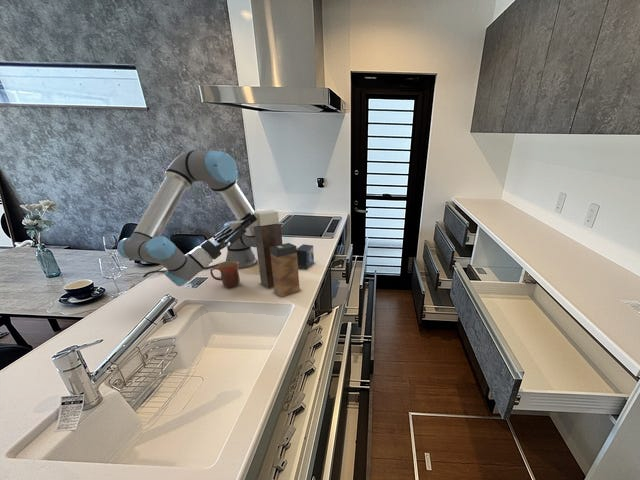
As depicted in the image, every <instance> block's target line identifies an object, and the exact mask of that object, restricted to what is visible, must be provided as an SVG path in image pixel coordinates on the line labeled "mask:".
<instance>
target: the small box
mask: <svg viewBox="0 0 640 480" xmlns="http://www.w3.org/2000/svg"><path fill="white" fill-rule="evenodd" d="M296 248H297V261H298V270H308V269H309V268H311V266H313V265H314V264H315V253H314V252H315V251H314V245H312V244H304V243H303V244H302V245H299V247H296Z"/></svg>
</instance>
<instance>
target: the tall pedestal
mask: <svg viewBox="0 0 640 480" xmlns="http://www.w3.org/2000/svg"><path fill="white" fill-rule="evenodd" d="M254 232H255V240H256V247H255V249H256V254H257V255H256V256H257V262H258V270H259V277H260V278H259V279H260V284H261V285H262V286H264V287H266V288H267V289H271V288H274V282H273V273H272V264H271V255H270V247H271V246H276V245H281V244H283V235H282V234H283V233H282V225H281V224H280V223H277V224H271V225H265V226H254Z"/></svg>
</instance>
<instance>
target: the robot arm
mask: <svg viewBox="0 0 640 480" xmlns="http://www.w3.org/2000/svg"><path fill="white" fill-rule="evenodd" d="M238 176H239V170H238V165H237V162H236V161H235V159H234V158H233V157H232V156H231V155H230V154H229V153H227V152H224V151H219V150H194V149H191V150H186V151H184V152H182V153H180V154H179V155H177V156H176V157H175V158H174V159H173V160H172V161H171V162H170V164H169V165H168V166H167V168H166V170H165V171H164V173H163V177H164V179H163V180H162V183H161V184H160V185H159V187H158V189H157V191H156V192H155V194H154V196H153V198H152V199H151V201H150V203H149V205H148V206H147V208H146V210H145V211H144V214H143V215H142V216H141V218H140V220H139V221H138V224H137V225H136V227H135V229H134V230H133V232H132V233H131V235H130V237H125V238H123V239H121V240H119V242H118V243H117V247H116V248H117V249H116V250H117V252H118V255H120V256H121V257H122V258H124V259H127V260H132V261H139V262H146V263H151V264H159V265H161V266H163V268H165V269H164V270H152V271H148V272H146V273H145V274H144V275H143V276H142V278H146V277H147V276H149V275H150V274H157V273H164V275H165V276H166V277H167V279H169V280H170V281H171V282H172V283H173V284H175V285H176V286H177V287H183V286H184V285H185V284H187V283H188V282H190V281H191V280H193V278H195V277H196V276H197V275H198V274H199V273H200V272H202V271H203V270H208V269H211V268H213V267H218V266H217V265H218V264H219V263H216V264H213V265H210V264H212V263H213V260H217V259H218V258H219V257H220V256H221V255H222V252H221V250H223V249H224V248H226V250H227V251H226V257H225V261H224V262H226V261H237V262H238V263H239V266H238V269H245V268H249V267H252V266H254V265H256V263H257V258H256V254H255V253H254V252H253V250H252V248H256V240H255V232H254V227H249V226H250V225H251V224H252V223H254V222H255V221H256V220H257V218H256V217H255V215H254V212H256V211H255V209H254V208H253V207H252V205H251V203H250V202H249V200H248V198H247V197H246V195H245V193H244V192H243V190H242V189H241V188H240V186H239V184H238V183H237V182H238ZM196 182H204V183H206V185H207V186H208V187H209V189H210V190H211V191H213V192H214V193H218V194H219V196H220V198H221V199H222V200H223V201H224V203H225V204H226V206H227V207H228V209H229V210H230V211H231V213H232V214H233V215H234V217H235V218H236V220H231V221H227V222H225V223H224V224H223V228H222V229H221V230H219V232H217V233H215V234H213V235H212V238H213V239H212V240H211V241H210V240H209V239H206V240H204V241H203V242H202V243H200V244H199V246H196V247H194V248H193V249H192V250H191V251H190V252H189V253H187V254H184V252H182V251H181V250H180V248H178V246H176V244H175V243H174V242H173V241H171V240H170V239H169V238H168V237H166V236H163V235H162V234H163V232H164V230H165V229H166V227H167V224H168V223H169V220H170V219H171V217H172V215H173V214H174V212H175V209H176V208H177V207H178V205H179V203H180V200H181V199H182V197H183V196H184V194H185V191H186V190H188V189H191V187H192V185H193V184H194V183H196ZM242 220H244V221H243V222H242V223H241V225H240V226H238V227H237V228H236V229H234V230H232V229H230V223H229V222H235V221H242ZM247 227H248V228H247Z"/></svg>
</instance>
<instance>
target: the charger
mask: <svg viewBox="0 0 640 480" xmlns="http://www.w3.org/2000/svg"><path fill="white" fill-rule="evenodd" d="M254 215H255V217H256V218H257V220H256V221H255V222H254V223H252V224H251V225H250V226H249V227H254V226H265V225H271V224H277V223H278V224H280V220H279V218H280V217H279V211H277V210H274V209H270V210H262V211H261V210H260V211H255V212H254ZM234 221H235V220H234ZM243 221H244V220H242V221H235V222H230V221H228V222H229V223H230V229H232V230H234V229H236V228H237V227H238V226H240V225H241V223H242V222H243ZM247 228H248V227H247Z"/></svg>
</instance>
